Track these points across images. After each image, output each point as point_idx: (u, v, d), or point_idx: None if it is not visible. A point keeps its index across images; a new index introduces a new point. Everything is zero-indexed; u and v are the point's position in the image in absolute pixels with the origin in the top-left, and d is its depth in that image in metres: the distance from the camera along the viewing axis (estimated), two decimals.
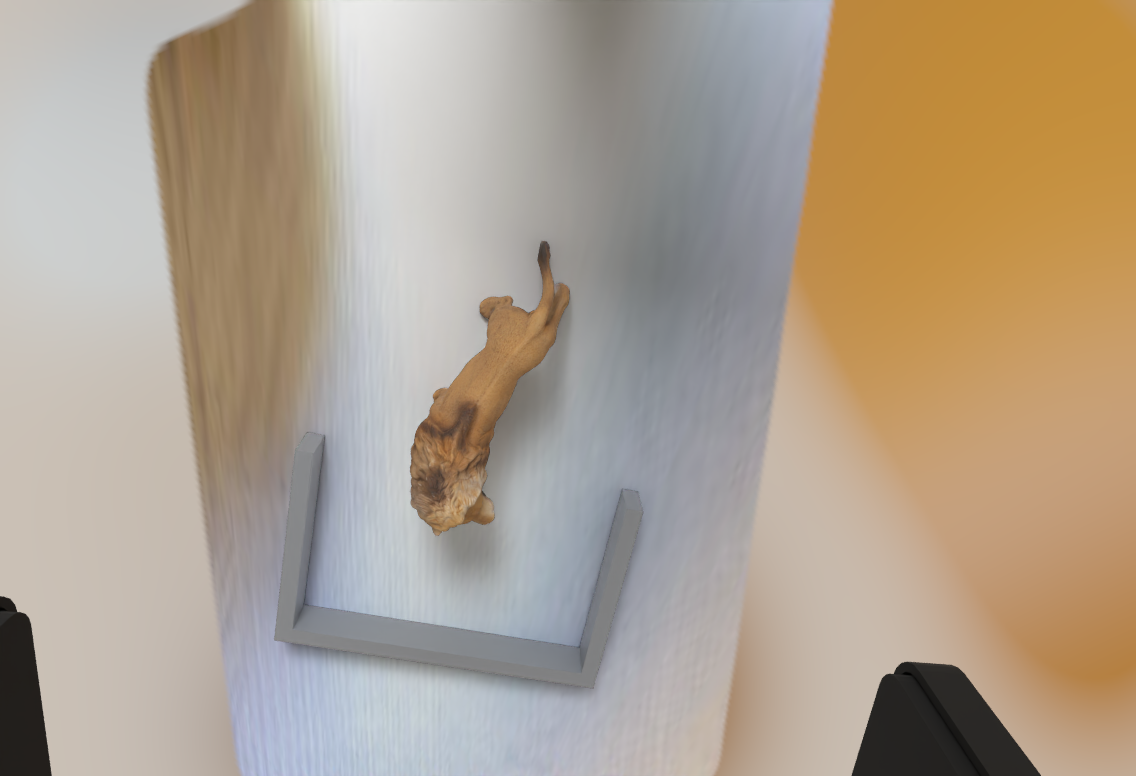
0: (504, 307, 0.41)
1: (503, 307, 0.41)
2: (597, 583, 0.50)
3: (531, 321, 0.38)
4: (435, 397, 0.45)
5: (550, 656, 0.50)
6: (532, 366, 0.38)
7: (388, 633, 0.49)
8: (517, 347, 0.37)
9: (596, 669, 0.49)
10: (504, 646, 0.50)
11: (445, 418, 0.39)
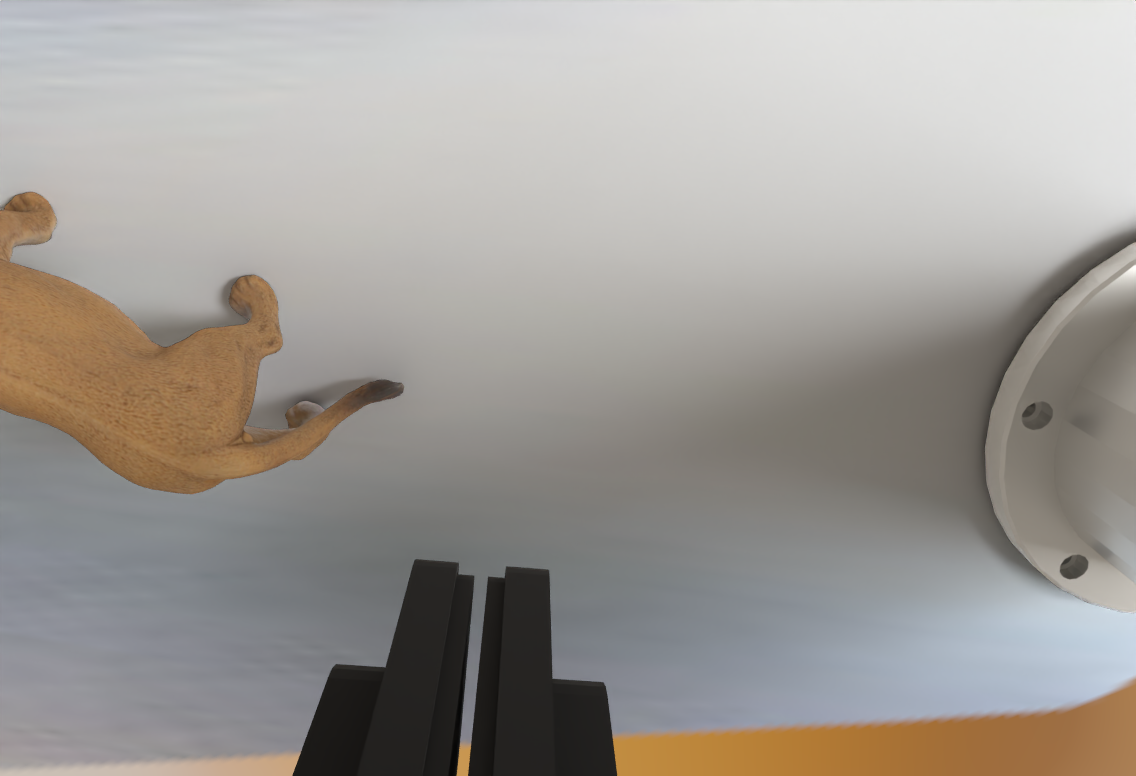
0: (251, 355, 0.19)
1: (251, 352, 0.20)
2: None
3: (221, 456, 0.17)
4: (25, 199, 0.21)
5: None
6: (116, 472, 0.17)
7: None
8: (147, 446, 0.16)
9: None
10: None
11: None
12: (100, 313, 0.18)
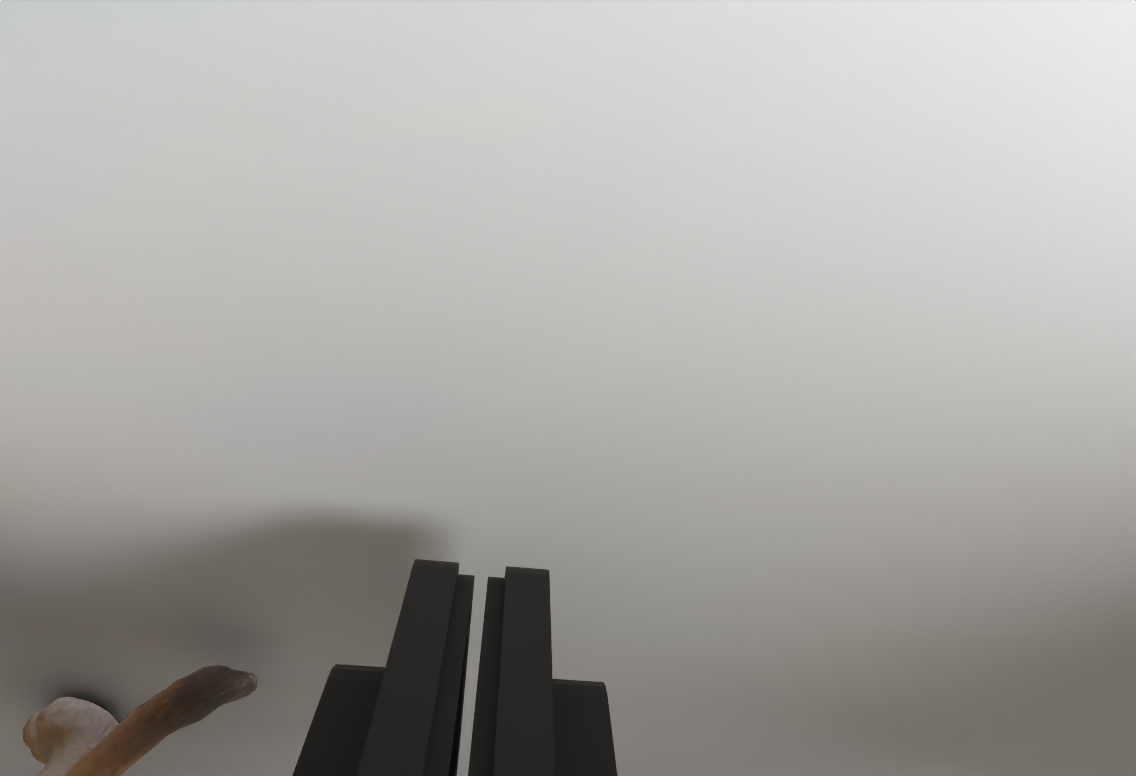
0: None
1: None
2: None
3: None
4: None
5: None
6: None
7: None
8: None
9: None
10: None
11: None
12: None
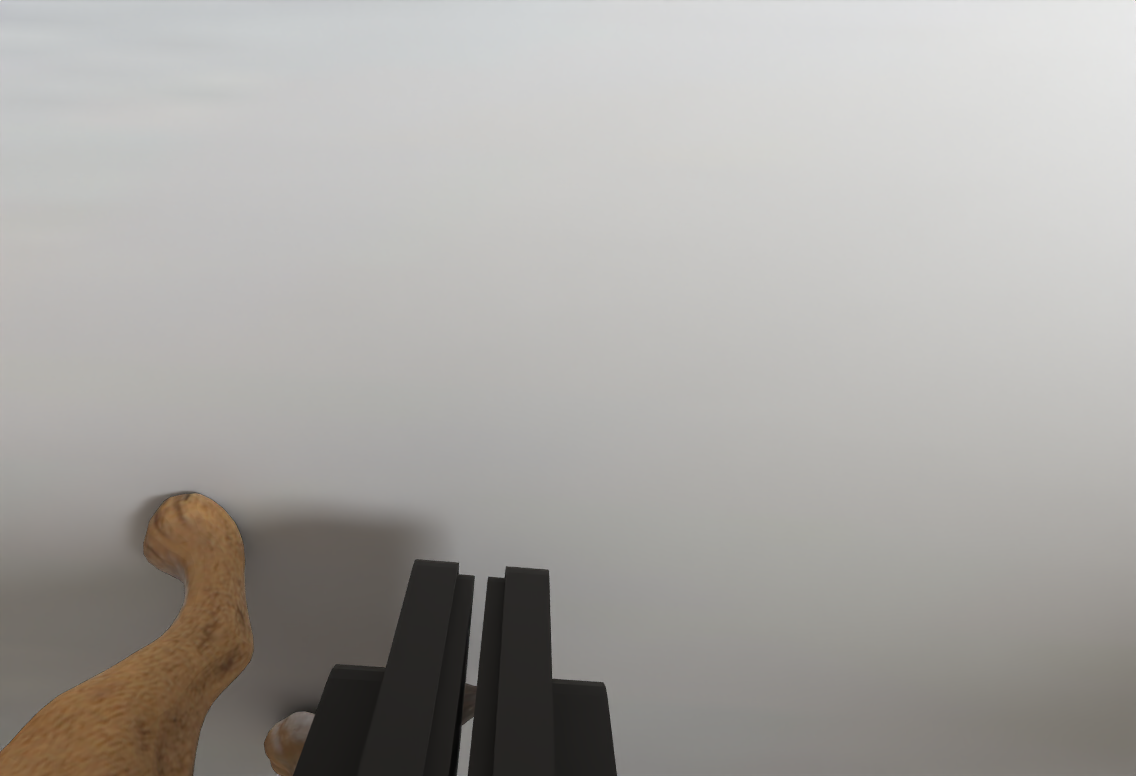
0: (177, 734, 0.08)
1: (176, 727, 0.08)
2: None
3: None
4: None
5: None
6: None
7: None
8: None
9: None
10: None
11: None
12: None
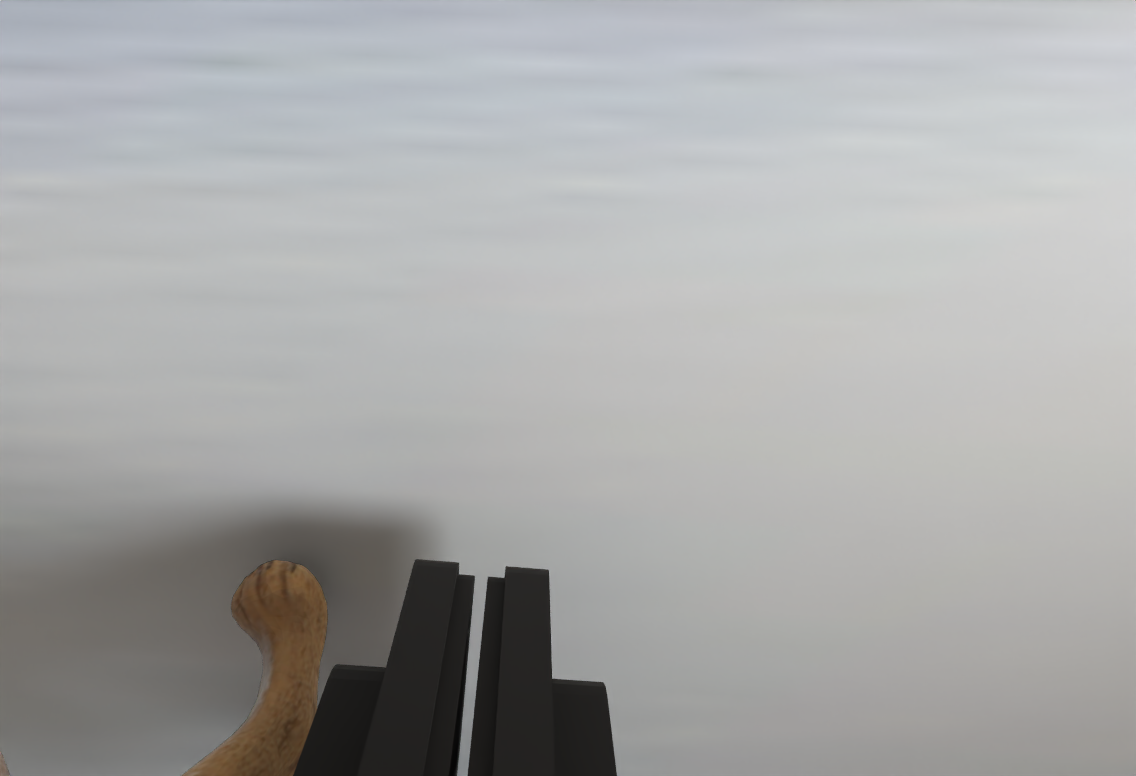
0: None
1: None
2: None
3: None
4: None
5: None
6: None
7: None
8: None
9: None
10: None
11: None
12: None
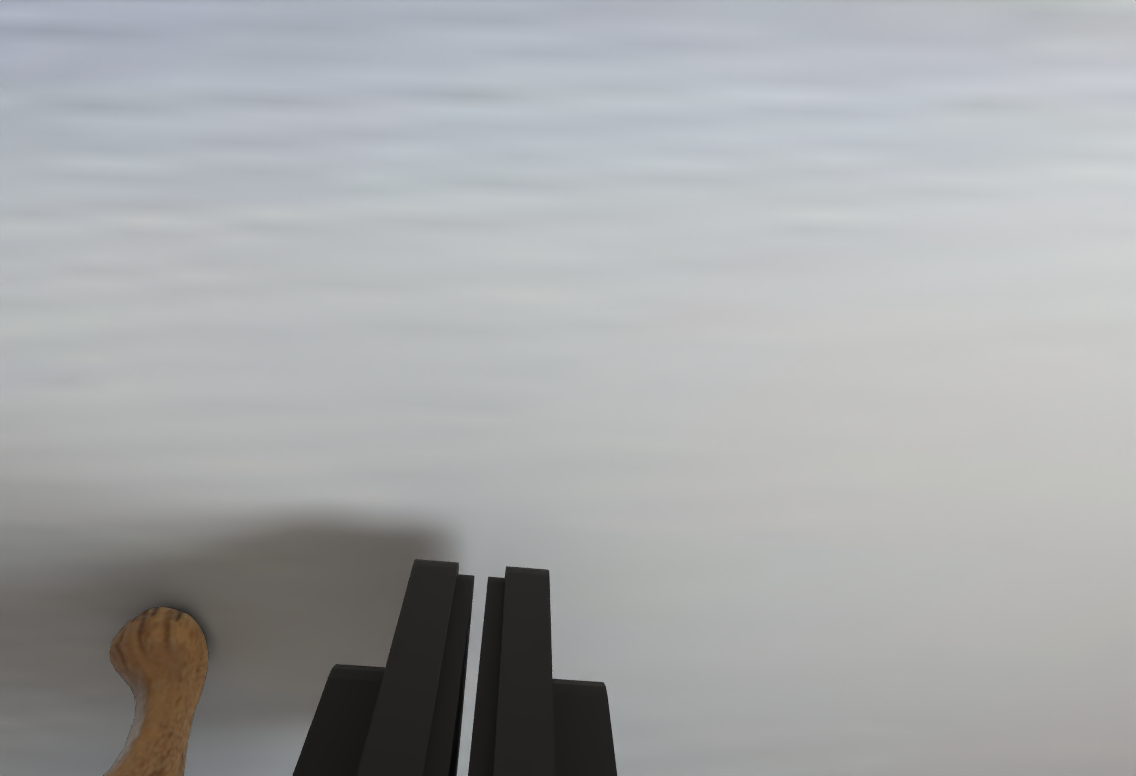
0: None
1: None
2: None
3: None
4: None
5: None
6: None
7: None
8: None
9: None
10: None
11: None
12: None
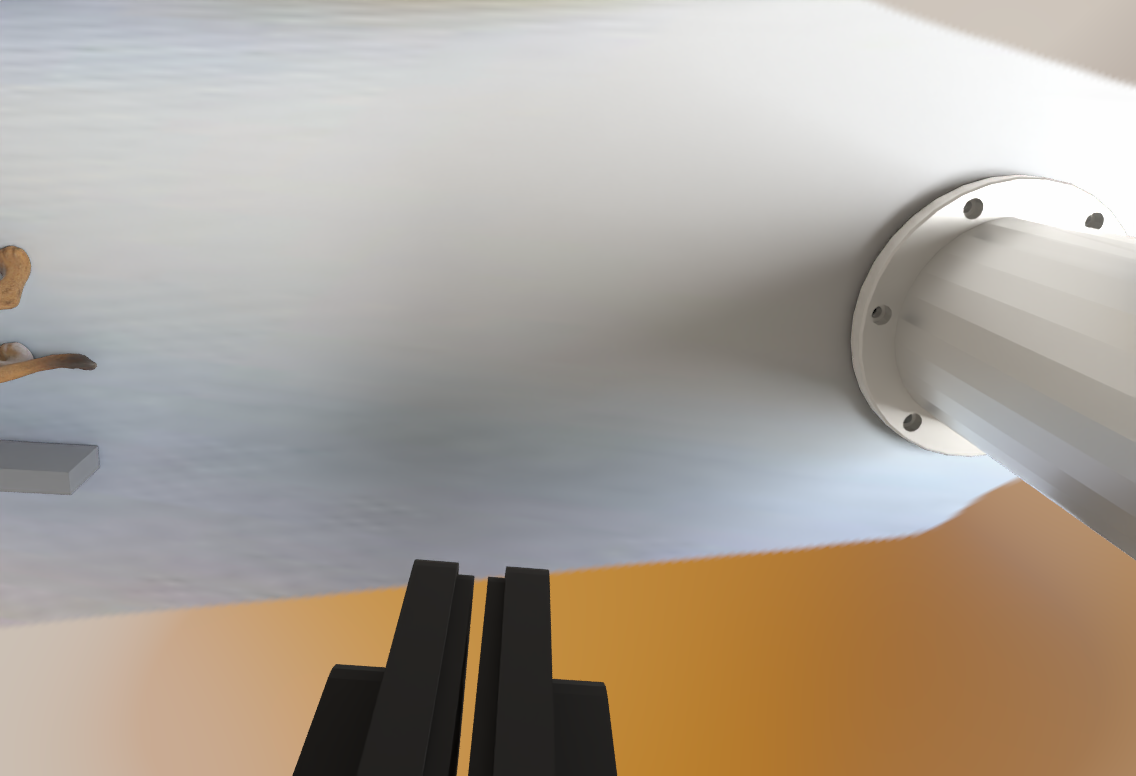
0: None
1: None
2: None
3: None
4: None
5: None
6: None
7: None
8: None
9: None
10: None
11: None
12: None
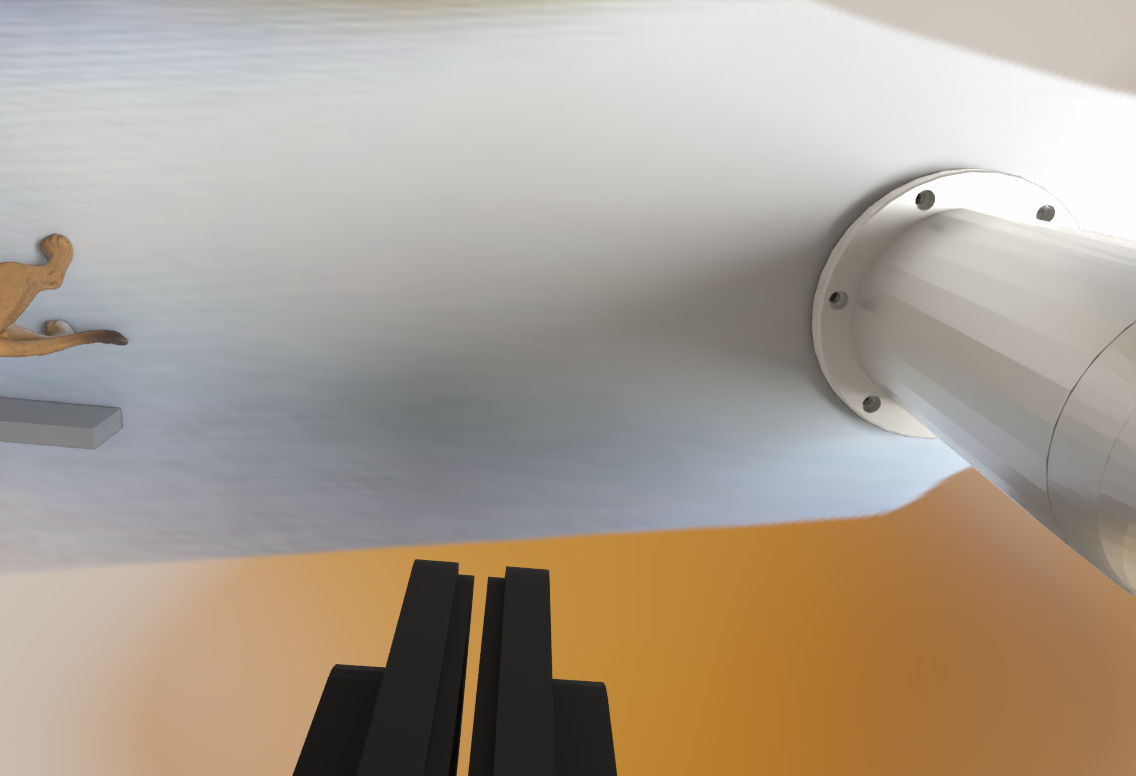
0: (33, 287, 0.32)
1: (34, 286, 0.32)
2: None
3: None
4: None
5: None
6: None
7: None
8: None
9: None
10: None
11: None
12: None
